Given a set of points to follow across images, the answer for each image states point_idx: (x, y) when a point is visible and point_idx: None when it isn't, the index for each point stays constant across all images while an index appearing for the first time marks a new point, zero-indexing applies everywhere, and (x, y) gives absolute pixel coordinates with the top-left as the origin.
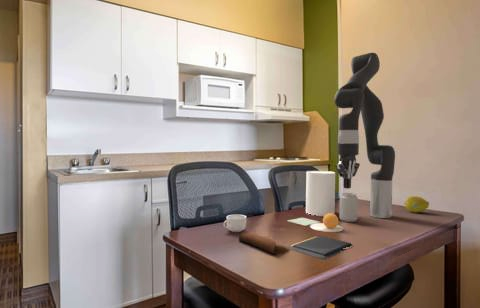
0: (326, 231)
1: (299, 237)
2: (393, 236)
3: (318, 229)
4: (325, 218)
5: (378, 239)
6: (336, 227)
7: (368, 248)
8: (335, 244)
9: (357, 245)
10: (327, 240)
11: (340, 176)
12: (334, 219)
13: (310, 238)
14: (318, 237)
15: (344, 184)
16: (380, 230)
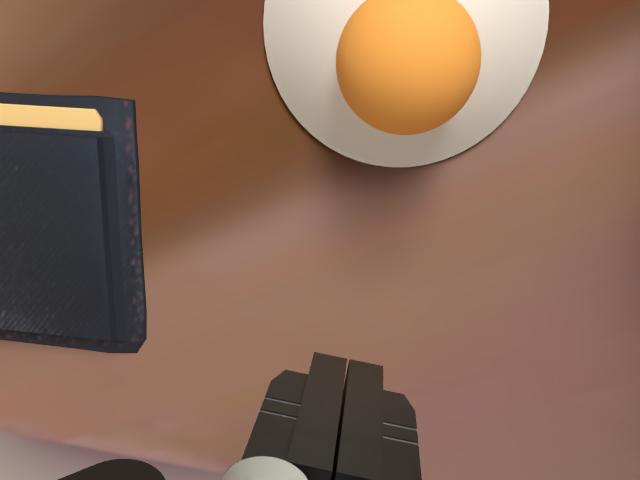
0: (280, 93)
1: (12, 19)
2: (493, 464)
3: (284, 14)
4: (344, 36)
5: None
6: None
7: (152, 419)
8: (9, 299)
9: (155, 363)
10: (36, 232)
11: (103, 475)
12: (369, 120)
13: (27, 106)
14: (45, 158)
15: (270, 409)
16: (603, 370)
